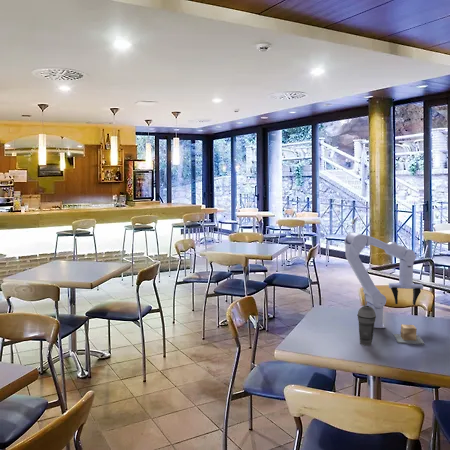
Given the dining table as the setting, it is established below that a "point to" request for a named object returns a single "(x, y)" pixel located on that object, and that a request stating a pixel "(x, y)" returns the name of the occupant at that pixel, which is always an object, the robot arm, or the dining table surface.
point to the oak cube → (408, 332)
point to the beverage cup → (366, 324)
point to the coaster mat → (400, 340)
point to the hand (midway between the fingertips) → (405, 304)
